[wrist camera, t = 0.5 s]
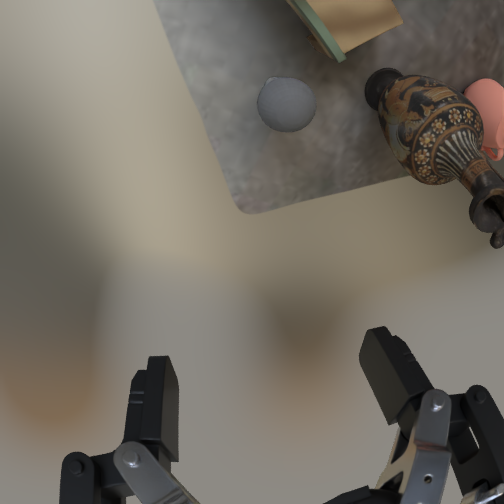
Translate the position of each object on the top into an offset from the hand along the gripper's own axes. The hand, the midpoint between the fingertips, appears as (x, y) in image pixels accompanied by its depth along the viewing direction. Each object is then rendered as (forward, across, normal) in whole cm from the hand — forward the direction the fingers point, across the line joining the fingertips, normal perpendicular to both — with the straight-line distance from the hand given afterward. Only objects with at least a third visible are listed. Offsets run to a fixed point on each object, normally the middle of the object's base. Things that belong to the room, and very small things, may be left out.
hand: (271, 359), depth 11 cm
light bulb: (+29, -6, -11) cm, 32 cm away
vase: (+29, -22, -12) cm, 38 cm away
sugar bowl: (+28, -42, -13) cm, 52 cm away
